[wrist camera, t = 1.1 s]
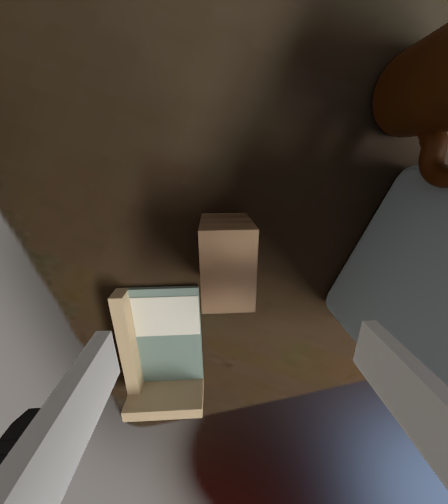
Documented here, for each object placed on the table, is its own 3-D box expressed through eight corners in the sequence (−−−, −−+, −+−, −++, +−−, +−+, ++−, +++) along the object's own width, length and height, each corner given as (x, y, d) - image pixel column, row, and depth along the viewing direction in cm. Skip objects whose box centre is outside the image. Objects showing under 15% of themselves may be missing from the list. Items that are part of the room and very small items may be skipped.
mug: (415, 184, 26) (523, 192, 17) (350, 181, 25) (425, 189, 16) (457, 51, 21) (630, -31, 13) (380, 44, 21) (502, -45, 12)
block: (201, 213, 26) (197, 230, 18) (246, 212, 26) (258, 229, 19) (204, 277, 28) (201, 313, 21) (244, 276, 29) (255, 312, 22)
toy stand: (116, 287, 28) (96, 311, 23) (198, 285, 29) (196, 308, 24) (135, 386, 34) (123, 422, 29) (203, 383, 34) (202, 417, 30)
